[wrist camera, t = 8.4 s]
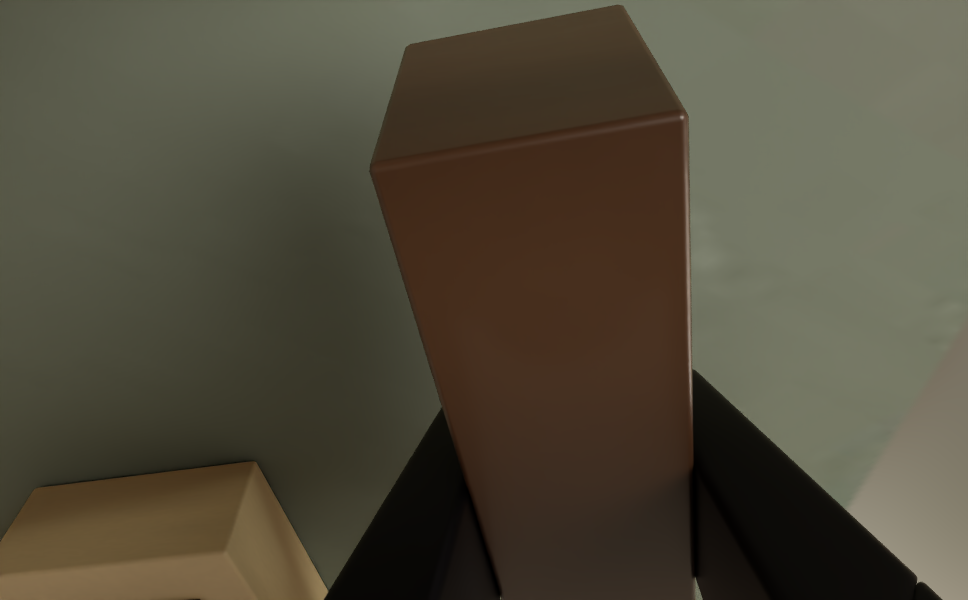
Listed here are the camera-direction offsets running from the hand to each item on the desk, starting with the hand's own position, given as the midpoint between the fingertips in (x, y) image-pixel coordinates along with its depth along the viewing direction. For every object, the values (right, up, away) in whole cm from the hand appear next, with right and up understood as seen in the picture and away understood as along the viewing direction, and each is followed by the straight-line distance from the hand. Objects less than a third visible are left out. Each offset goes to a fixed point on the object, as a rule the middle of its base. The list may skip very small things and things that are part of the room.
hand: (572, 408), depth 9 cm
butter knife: (+1, -4, +4) cm, 6 cm away
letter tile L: (-8, -5, +9) cm, 13 cm away
